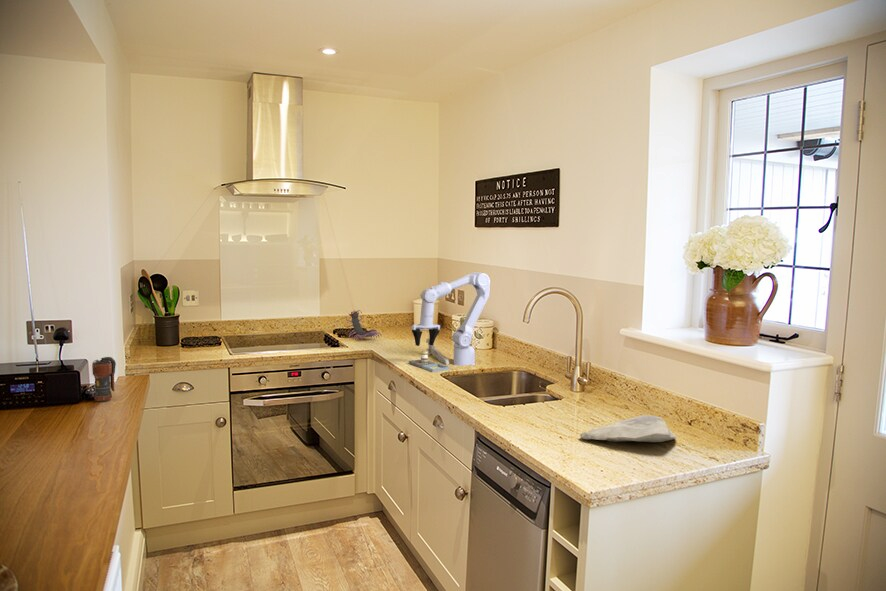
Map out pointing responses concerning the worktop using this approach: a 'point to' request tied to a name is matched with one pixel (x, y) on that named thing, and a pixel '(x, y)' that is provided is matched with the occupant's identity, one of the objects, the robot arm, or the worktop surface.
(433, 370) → the parts tray
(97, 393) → the grenade
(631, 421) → the decorative stone
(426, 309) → the robot arm
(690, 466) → the worktop surface
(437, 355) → the wrench
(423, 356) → the cylinder
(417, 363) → the fuse block
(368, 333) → the toy
